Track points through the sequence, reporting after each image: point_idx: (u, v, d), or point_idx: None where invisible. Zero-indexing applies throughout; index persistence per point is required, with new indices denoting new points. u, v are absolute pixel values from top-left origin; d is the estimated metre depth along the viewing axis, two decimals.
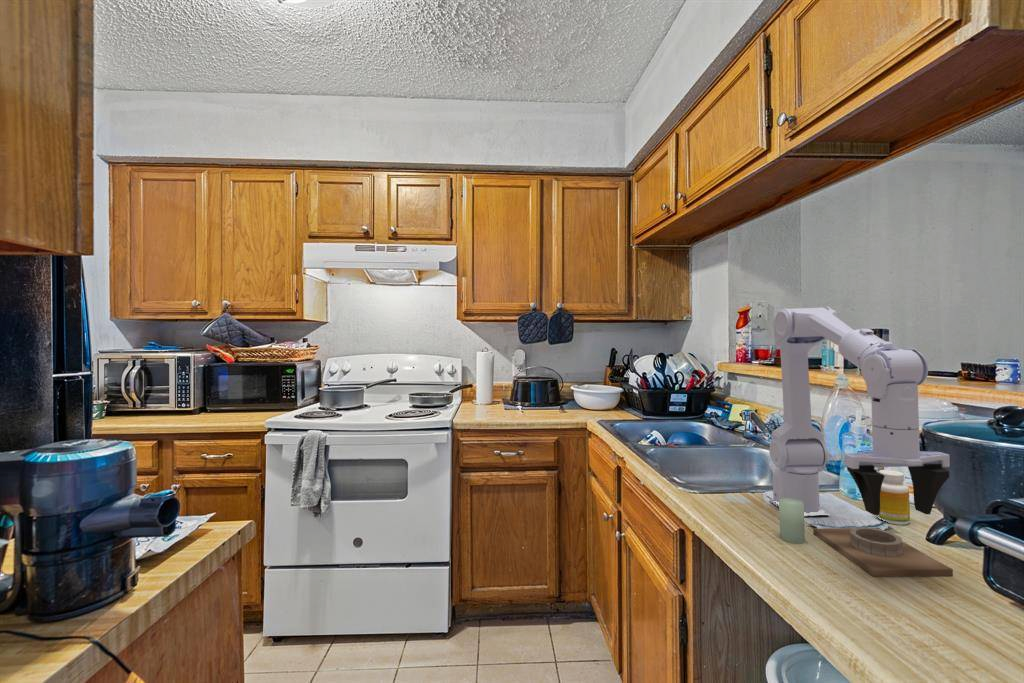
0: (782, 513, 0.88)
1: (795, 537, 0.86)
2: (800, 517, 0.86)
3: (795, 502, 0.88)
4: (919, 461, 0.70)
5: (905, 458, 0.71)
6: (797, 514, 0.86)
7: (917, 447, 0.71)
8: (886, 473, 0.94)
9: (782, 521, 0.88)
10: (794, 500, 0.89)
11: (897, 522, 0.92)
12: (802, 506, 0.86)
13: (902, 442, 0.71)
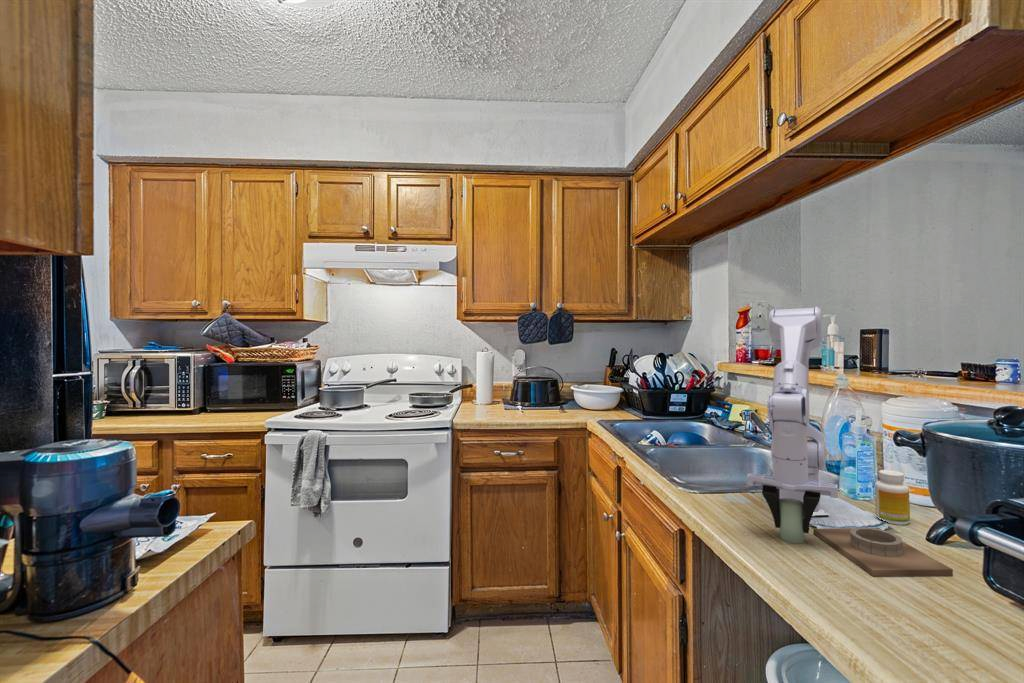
0: (782, 513, 0.88)
1: (795, 537, 0.86)
2: (800, 517, 0.86)
3: (795, 502, 0.88)
4: (791, 486, 0.85)
5: (784, 483, 0.86)
6: (797, 514, 0.86)
7: (797, 475, 0.85)
8: (886, 473, 0.94)
9: (782, 521, 0.88)
10: (794, 500, 0.89)
11: (897, 522, 0.92)
12: (802, 506, 0.86)
13: (782, 469, 0.86)
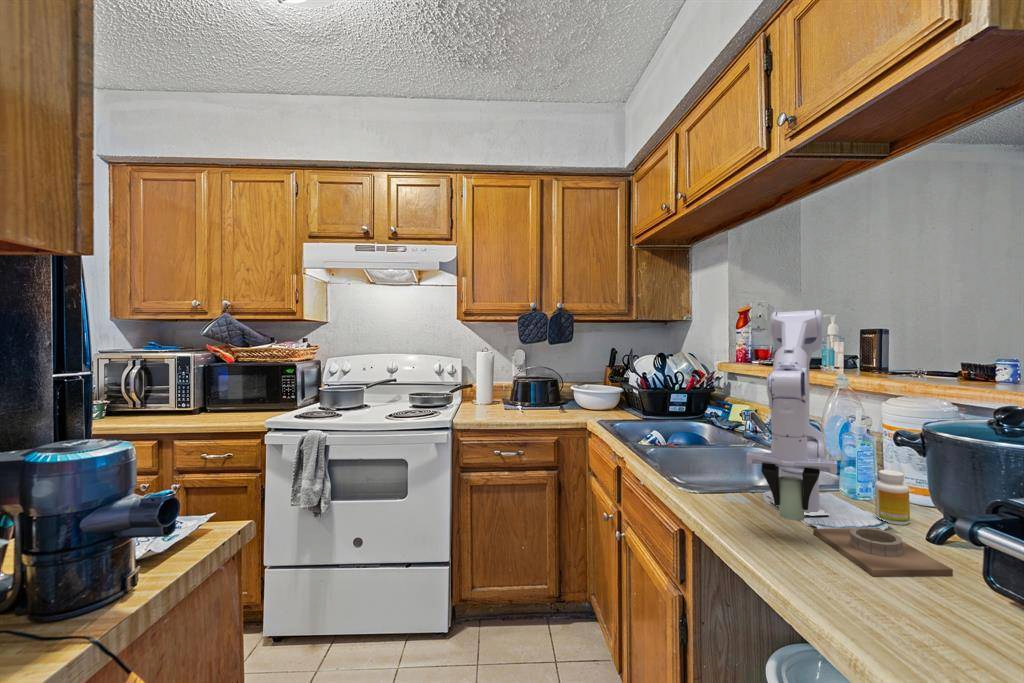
0: (782, 490, 0.88)
1: (794, 513, 0.86)
2: (799, 494, 0.86)
3: (794, 479, 0.88)
4: (790, 463, 0.85)
5: (783, 460, 0.86)
6: (796, 491, 0.86)
7: (796, 452, 0.85)
8: (886, 473, 0.94)
9: (781, 498, 0.88)
10: (793, 478, 0.89)
11: (897, 522, 0.92)
12: (801, 483, 0.86)
13: (781, 446, 0.86)
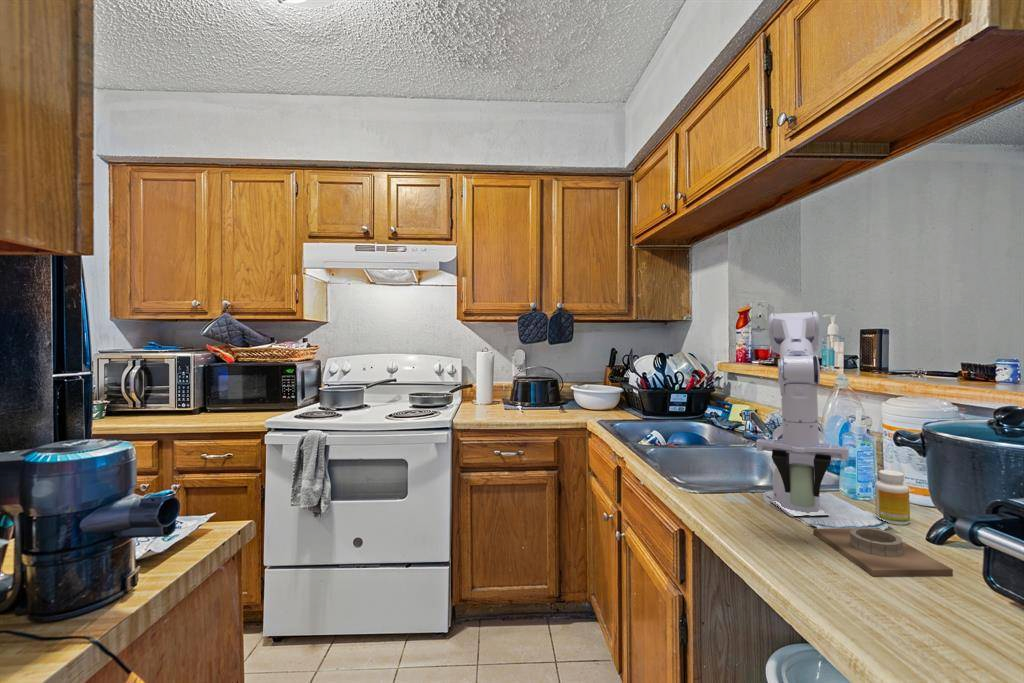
0: (792, 477, 0.87)
1: (805, 500, 0.85)
2: (810, 480, 0.85)
3: (805, 466, 0.87)
4: (801, 449, 0.84)
5: (794, 446, 0.85)
6: (807, 478, 0.85)
7: (807, 438, 0.84)
8: (886, 473, 0.94)
9: (792, 485, 0.87)
10: (804, 464, 0.88)
11: (897, 522, 0.92)
12: (812, 470, 0.85)
13: (792, 432, 0.85)
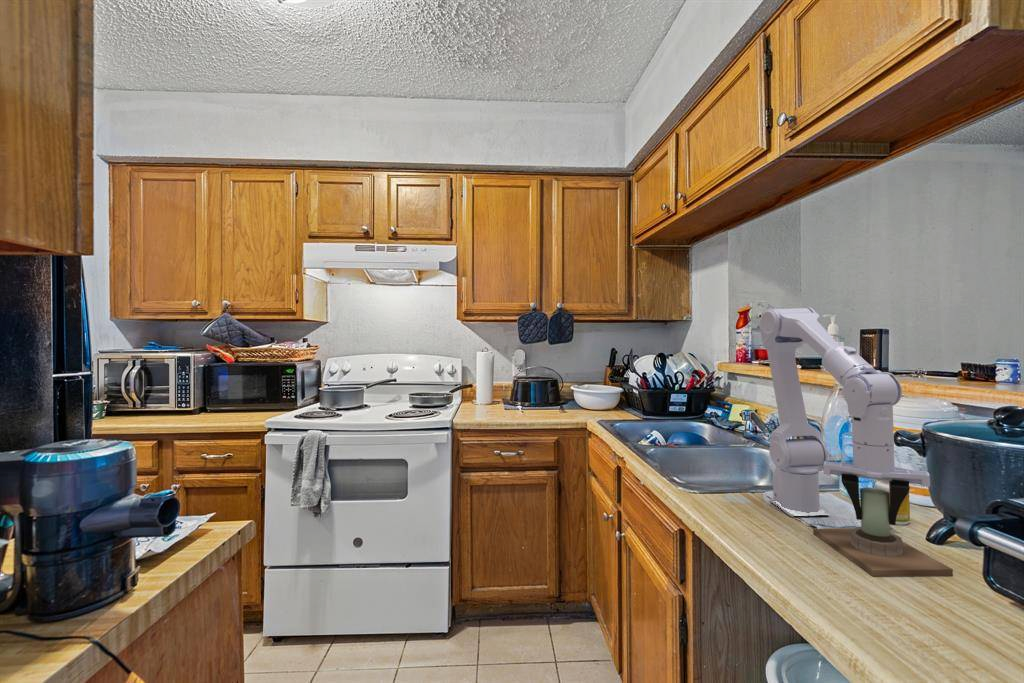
0: (865, 504, 0.81)
1: (880, 529, 0.79)
2: (886, 507, 0.79)
3: (879, 492, 0.81)
4: (878, 474, 0.78)
5: (868, 470, 0.79)
6: (882, 505, 0.79)
7: (884, 463, 0.79)
8: None
9: (865, 512, 0.81)
10: (877, 490, 0.82)
11: (897, 522, 0.92)
12: (888, 496, 0.80)
13: (866, 456, 0.80)
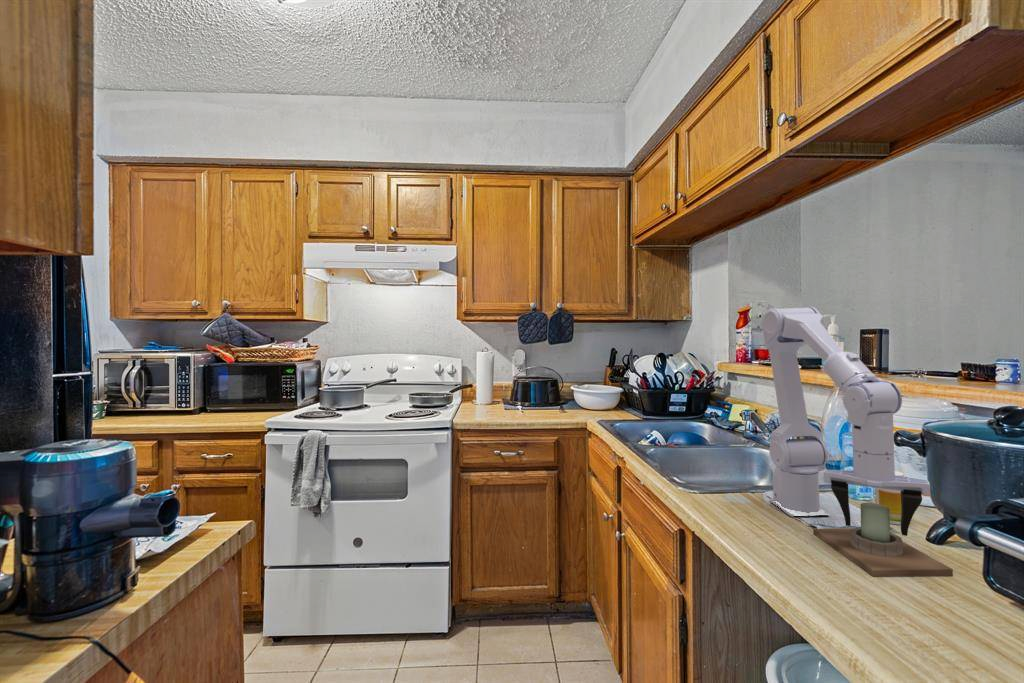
0: (865, 519, 0.81)
1: None
2: (886, 523, 0.79)
3: (879, 507, 0.81)
4: (878, 483, 0.78)
5: (869, 479, 0.79)
6: (883, 521, 0.79)
7: (884, 471, 0.79)
8: None
9: (865, 528, 0.81)
10: (877, 505, 0.82)
11: (897, 522, 0.92)
12: (888, 512, 0.80)
13: (867, 464, 0.80)
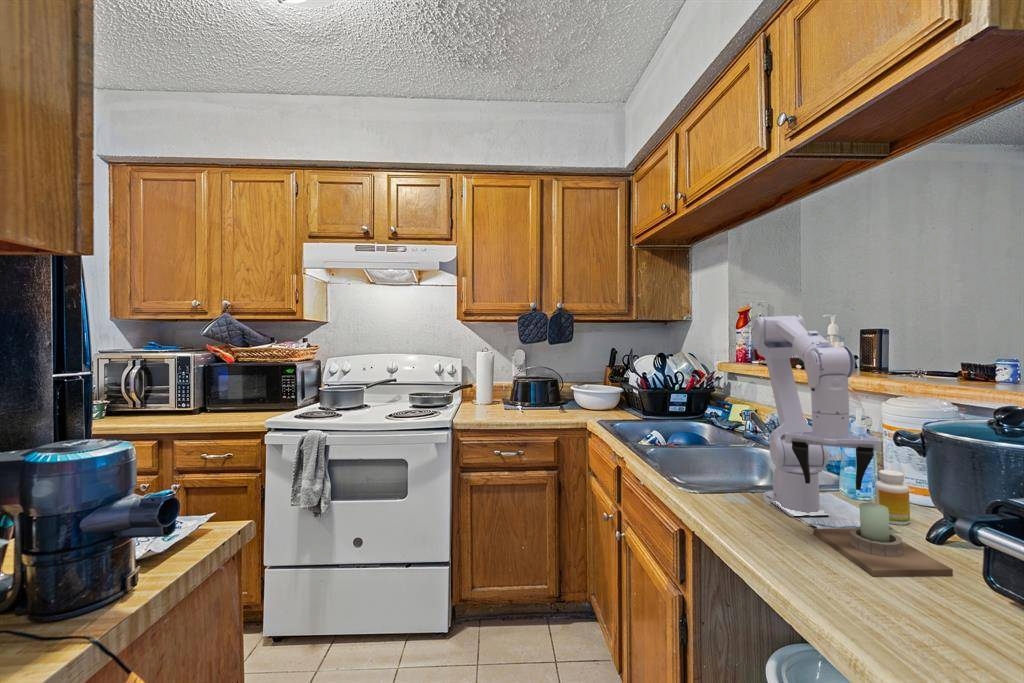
0: (865, 519, 0.81)
1: None
2: (885, 523, 0.80)
3: (878, 507, 0.81)
4: (833, 440, 0.83)
5: (825, 437, 0.84)
6: (882, 521, 0.79)
7: (839, 430, 0.84)
8: (886, 473, 0.94)
9: (865, 528, 0.81)
10: (876, 505, 0.82)
11: (897, 522, 0.92)
12: (887, 511, 0.80)
13: (823, 424, 0.85)
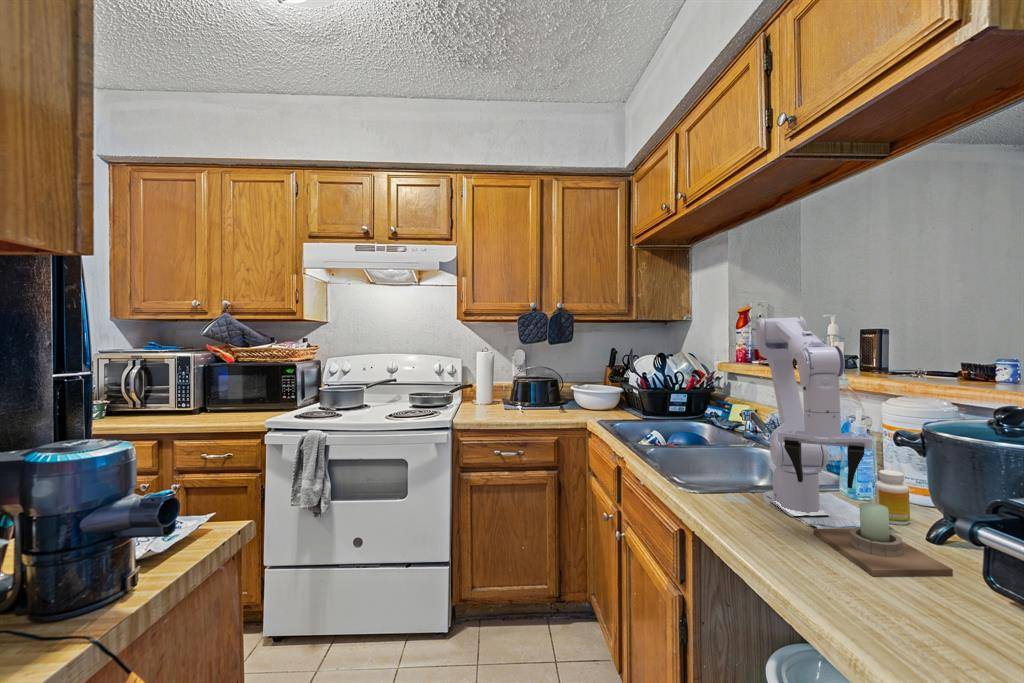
0: (865, 519, 0.81)
1: None
2: (885, 523, 0.80)
3: (878, 507, 0.81)
4: (824, 439, 0.84)
5: (817, 436, 0.85)
6: (882, 520, 0.80)
7: (830, 428, 0.85)
8: (886, 473, 0.94)
9: (865, 528, 0.81)
10: (876, 505, 0.82)
11: (897, 522, 0.92)
12: (887, 511, 0.80)
13: (815, 423, 0.86)
